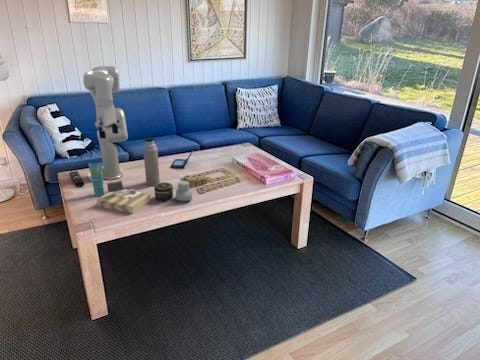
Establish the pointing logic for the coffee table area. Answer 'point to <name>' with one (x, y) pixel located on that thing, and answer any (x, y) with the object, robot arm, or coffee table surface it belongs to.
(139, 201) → the tan flat box
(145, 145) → the thermos bottle
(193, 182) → the pile of dominoes
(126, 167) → the coffee table surface
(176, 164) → the handheld game console
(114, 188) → the peg
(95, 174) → the tube
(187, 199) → the pale green rounded vessel
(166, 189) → the jar
